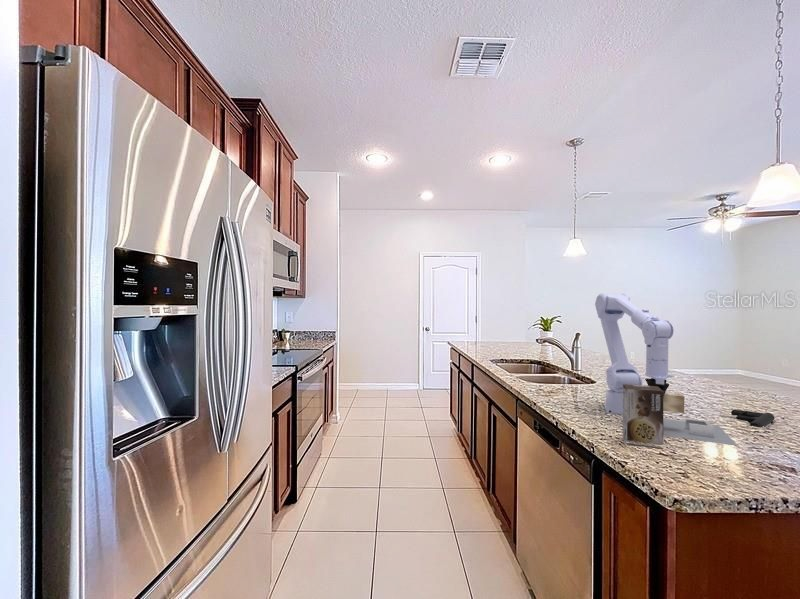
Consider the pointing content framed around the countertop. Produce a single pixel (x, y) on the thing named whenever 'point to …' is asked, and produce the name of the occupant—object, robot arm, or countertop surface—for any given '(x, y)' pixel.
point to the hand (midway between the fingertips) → (656, 403)
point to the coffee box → (643, 414)
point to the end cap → (699, 427)
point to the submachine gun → (753, 418)
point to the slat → (673, 402)
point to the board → (678, 430)
